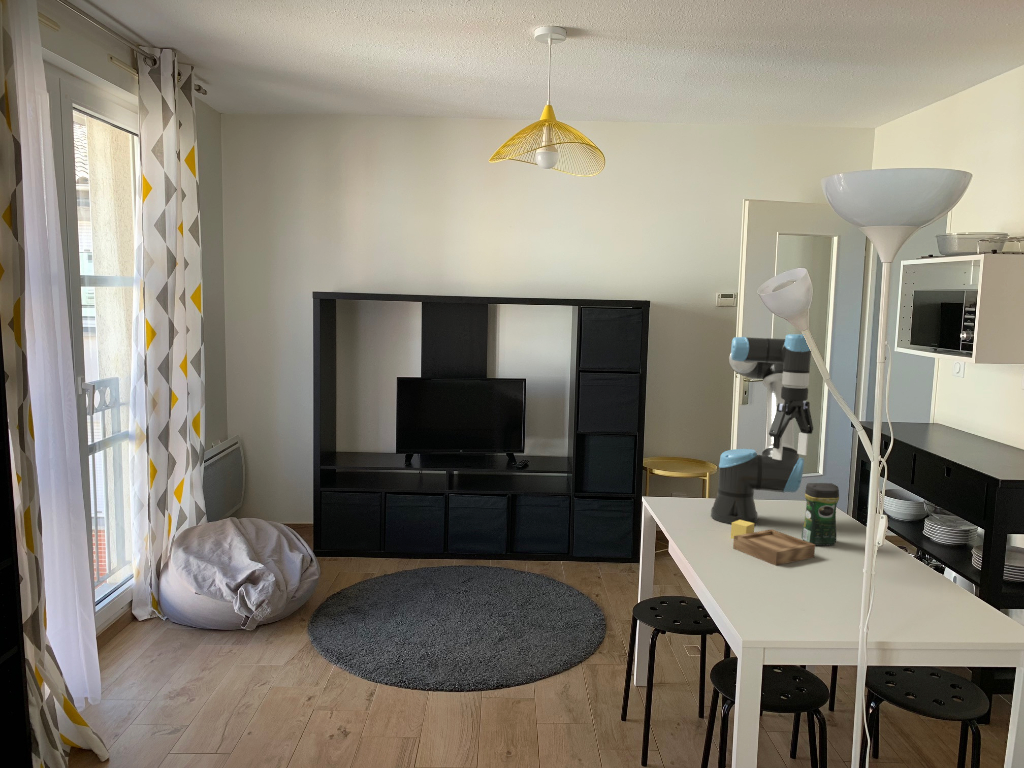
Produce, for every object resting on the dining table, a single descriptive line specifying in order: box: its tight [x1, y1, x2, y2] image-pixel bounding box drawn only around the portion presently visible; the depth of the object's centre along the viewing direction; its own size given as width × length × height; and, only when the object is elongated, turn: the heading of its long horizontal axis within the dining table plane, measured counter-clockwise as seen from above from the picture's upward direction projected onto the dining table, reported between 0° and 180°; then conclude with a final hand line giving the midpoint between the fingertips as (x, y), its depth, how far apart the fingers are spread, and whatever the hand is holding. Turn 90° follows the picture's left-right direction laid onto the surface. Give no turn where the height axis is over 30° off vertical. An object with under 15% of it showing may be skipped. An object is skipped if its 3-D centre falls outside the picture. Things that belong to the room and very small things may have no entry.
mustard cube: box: [730, 520, 756, 540], centre depth 244 cm, size 5×5×5 cm
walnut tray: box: [732, 528, 816, 566], centre depth 231 cm, size 16×16×4 cm
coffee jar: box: [801, 482, 840, 546], centre depth 241 cm, size 10×8×19 cm
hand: (789, 456), depth 236 cm, fingers open, 13 cm apart
